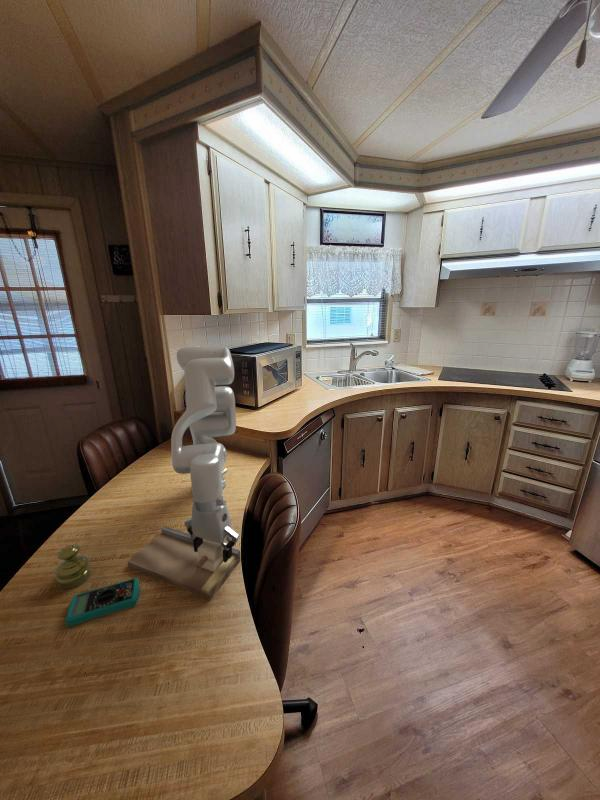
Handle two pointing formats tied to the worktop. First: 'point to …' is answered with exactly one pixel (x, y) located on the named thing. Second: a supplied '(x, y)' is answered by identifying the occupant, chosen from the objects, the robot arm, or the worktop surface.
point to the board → (181, 564)
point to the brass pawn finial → (72, 567)
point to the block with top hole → (210, 555)
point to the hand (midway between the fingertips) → (213, 553)
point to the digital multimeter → (103, 601)
